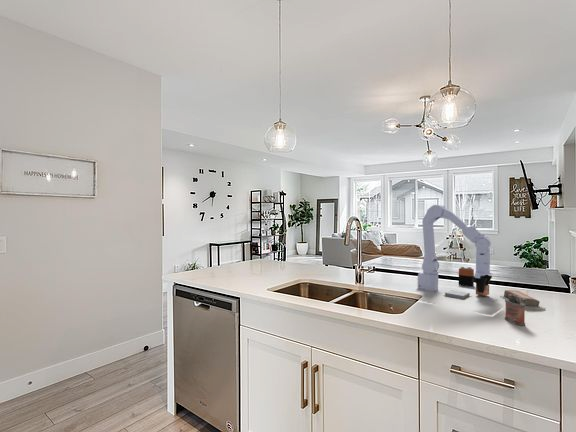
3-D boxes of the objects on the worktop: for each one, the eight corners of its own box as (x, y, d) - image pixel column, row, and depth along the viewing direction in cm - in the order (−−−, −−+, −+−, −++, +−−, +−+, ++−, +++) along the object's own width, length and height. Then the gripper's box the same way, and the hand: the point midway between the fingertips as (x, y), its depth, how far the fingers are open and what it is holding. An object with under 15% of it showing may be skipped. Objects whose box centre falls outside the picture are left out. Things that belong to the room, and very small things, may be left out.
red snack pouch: (502, 318, 126) (502, 292, 126) (510, 318, 126) (511, 292, 126) (518, 326, 118) (519, 298, 118) (527, 326, 118) (528, 297, 118)
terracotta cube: (475, 294, 157) (475, 285, 157) (478, 292, 160) (479, 283, 160) (486, 296, 154) (486, 286, 154) (489, 294, 157) (489, 285, 157)
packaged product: (499, 288, 156) (522, 289, 155) (499, 299, 156) (522, 300, 155) (519, 298, 138) (546, 299, 137) (519, 310, 138) (546, 311, 137)
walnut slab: (441, 299, 157) (441, 295, 157) (450, 295, 164) (450, 292, 164) (464, 303, 150) (464, 300, 150) (472, 299, 157) (472, 296, 157)
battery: (472, 286, 179) (472, 268, 179) (458, 285, 184) (458, 267, 183) (473, 285, 183) (474, 267, 182) (460, 283, 187) (460, 266, 187)
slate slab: (445, 295, 157) (445, 292, 157) (451, 293, 163) (451, 289, 163) (463, 299, 151) (463, 295, 151) (469, 296, 157) (469, 293, 157)
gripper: (487, 265, 149) (486, 295, 149) (497, 262, 159) (496, 290, 159) (470, 263, 154) (469, 292, 155) (481, 260, 164) (480, 287, 164)
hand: (482, 291), depth 157 cm, fingers closed on terracotta cube, 4 cm apart
